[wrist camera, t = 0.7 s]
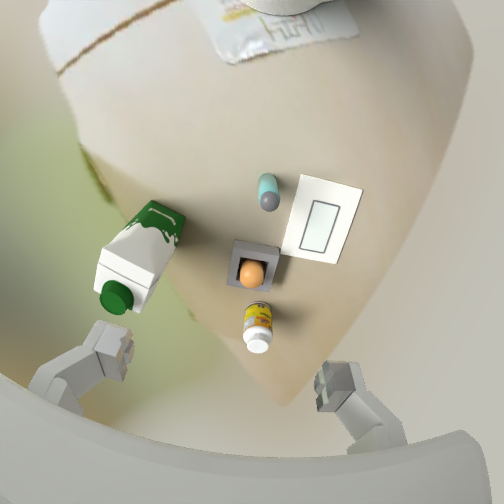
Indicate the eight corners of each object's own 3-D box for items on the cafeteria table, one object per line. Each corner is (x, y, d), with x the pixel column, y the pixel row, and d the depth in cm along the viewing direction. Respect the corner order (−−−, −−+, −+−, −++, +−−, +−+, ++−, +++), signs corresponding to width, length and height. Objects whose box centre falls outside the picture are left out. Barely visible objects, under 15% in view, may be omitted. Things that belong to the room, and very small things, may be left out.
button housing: (234, 239, 49) (233, 247, 47) (278, 247, 50) (279, 256, 47) (227, 275, 53) (226, 285, 50) (268, 282, 54) (269, 292, 51)
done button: (243, 256, 49) (241, 267, 46) (265, 260, 49) (265, 271, 46) (239, 274, 51) (238, 286, 48) (260, 278, 51) (260, 289, 48)
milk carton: (134, 233, 49) (82, 299, 32) (149, 192, 45) (90, 249, 28) (174, 253, 51) (138, 329, 34) (192, 214, 47) (156, 283, 30)
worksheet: (301, 173, 43) (301, 174, 42) (361, 189, 44) (362, 190, 43) (279, 252, 50) (280, 254, 50) (335, 262, 51) (336, 264, 51)
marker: (260, 171, 43) (261, 190, 34) (277, 175, 43) (282, 194, 34) (257, 187, 44) (256, 210, 35) (274, 191, 44) (277, 214, 36)
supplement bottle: (276, 312, 58) (278, 349, 49) (255, 323, 59) (254, 359, 50) (261, 296, 55) (261, 332, 47) (239, 307, 57) (236, 344, 48)
